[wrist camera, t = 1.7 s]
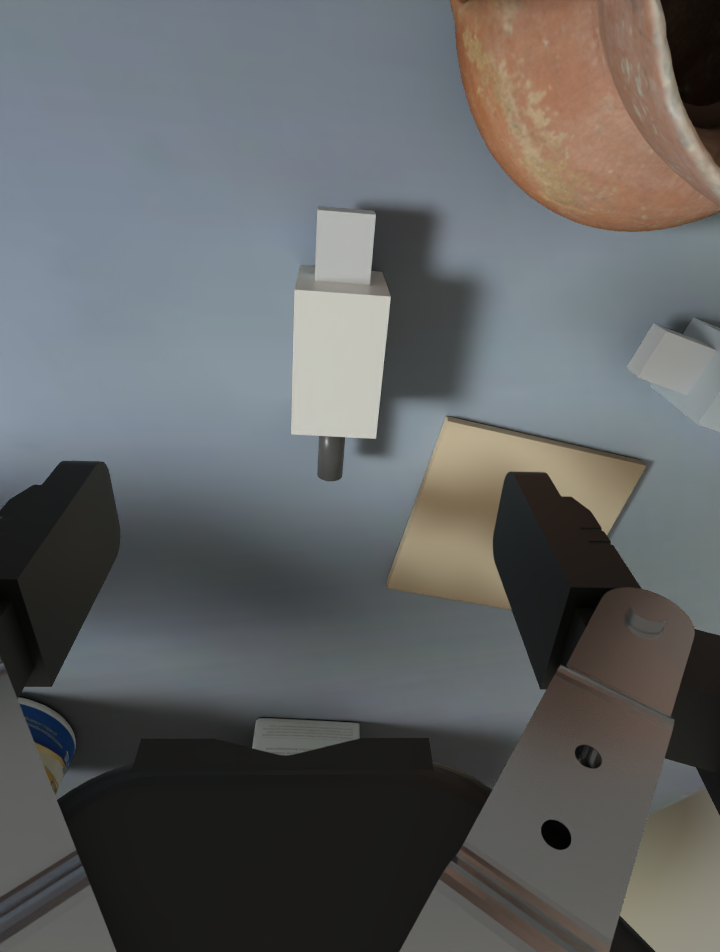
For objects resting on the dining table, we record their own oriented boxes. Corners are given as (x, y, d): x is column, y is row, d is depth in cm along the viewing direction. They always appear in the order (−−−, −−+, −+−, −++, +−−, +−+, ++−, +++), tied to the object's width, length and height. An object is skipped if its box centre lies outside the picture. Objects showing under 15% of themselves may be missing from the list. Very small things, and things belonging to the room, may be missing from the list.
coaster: (556, 611, 37) (559, 618, 36) (386, 581, 35) (387, 588, 35) (641, 460, 32) (646, 465, 31) (446, 416, 30) (448, 421, 29)
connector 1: (364, 454, 31) (369, 501, 27) (294, 450, 31) (289, 498, 27) (388, 207, 25) (398, 222, 21) (302, 199, 25) (296, 214, 21)
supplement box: (254, 715, 41) (226, 929, 30) (361, 720, 42) (372, 931, 31) (250, 779, 44) (223, 992, 34) (348, 783, 45) (354, 992, 34)
